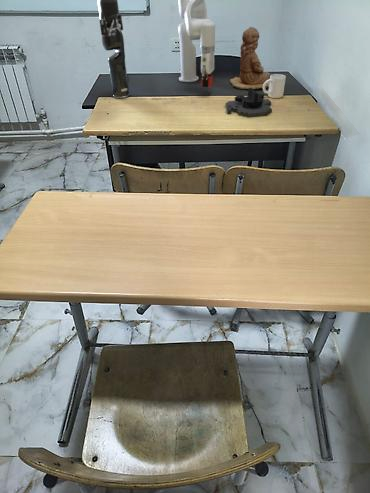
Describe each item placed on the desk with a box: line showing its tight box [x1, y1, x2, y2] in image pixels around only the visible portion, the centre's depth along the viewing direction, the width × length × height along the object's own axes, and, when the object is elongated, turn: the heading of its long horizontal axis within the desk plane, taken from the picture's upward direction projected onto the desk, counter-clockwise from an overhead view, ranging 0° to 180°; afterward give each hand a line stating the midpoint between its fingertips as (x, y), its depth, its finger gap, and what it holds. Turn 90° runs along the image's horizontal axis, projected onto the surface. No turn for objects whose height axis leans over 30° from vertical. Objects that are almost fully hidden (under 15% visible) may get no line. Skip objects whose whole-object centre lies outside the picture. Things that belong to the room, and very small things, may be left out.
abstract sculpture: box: [224, 88, 273, 118], centre depth 181 cm, size 25×9×20 cm
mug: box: [262, 73, 287, 99], centre depth 195 cm, size 12×8×10 cm
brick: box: [200, 76, 214, 88], centre depth 199 cm, size 5×5×4 cm
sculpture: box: [229, 26, 271, 90], centre depth 208 cm, size 27×24×30 cm
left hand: (114, 44), depth 160 cm, fingers open, 8 cm apart
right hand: (206, 85), depth 200 cm, fingers closed on brick, 5 cm apart
